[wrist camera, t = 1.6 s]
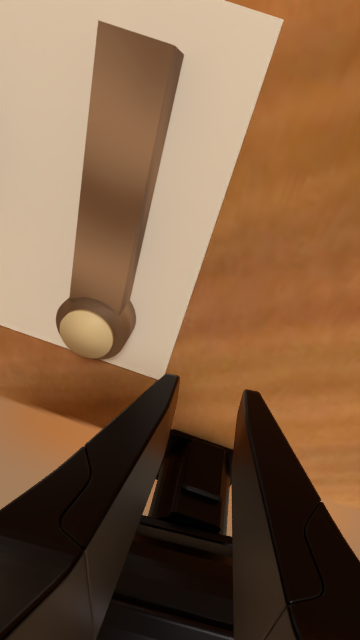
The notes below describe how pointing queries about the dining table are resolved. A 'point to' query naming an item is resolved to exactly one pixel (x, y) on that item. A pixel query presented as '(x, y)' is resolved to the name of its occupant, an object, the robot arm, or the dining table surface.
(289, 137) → the dining table surface
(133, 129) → the link
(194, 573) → the robot arm
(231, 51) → the pivot plate
